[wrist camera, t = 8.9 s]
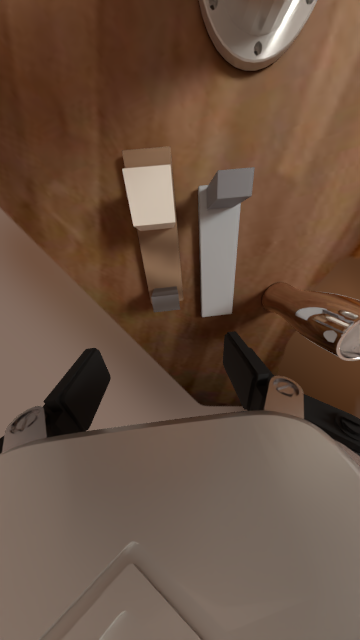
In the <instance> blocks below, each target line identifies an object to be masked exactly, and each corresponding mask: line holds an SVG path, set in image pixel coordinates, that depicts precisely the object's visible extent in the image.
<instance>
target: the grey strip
mask: <svg viewBox="0 0 360 640" xmlns="http://www.w3.org/2000/svg"><path fill="white" fill-rule="evenodd" d="M253 177H254V167H253V168H241V169H230V170H218V171H217V173H216V174H215V176H214V177H213V179H212V180H211V182H210V184H209V185H204V186H199V188H198V210H199V248H200V287H201V316H202V317H207V316H216V315H224V314H232V305H233V292H234V280H235V267H236V255H237V242H238V230H239V217H240V205H241V202H243V201H244V200H246V199H247V198H249V197H250V196H252V186H253Z"/></svg>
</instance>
